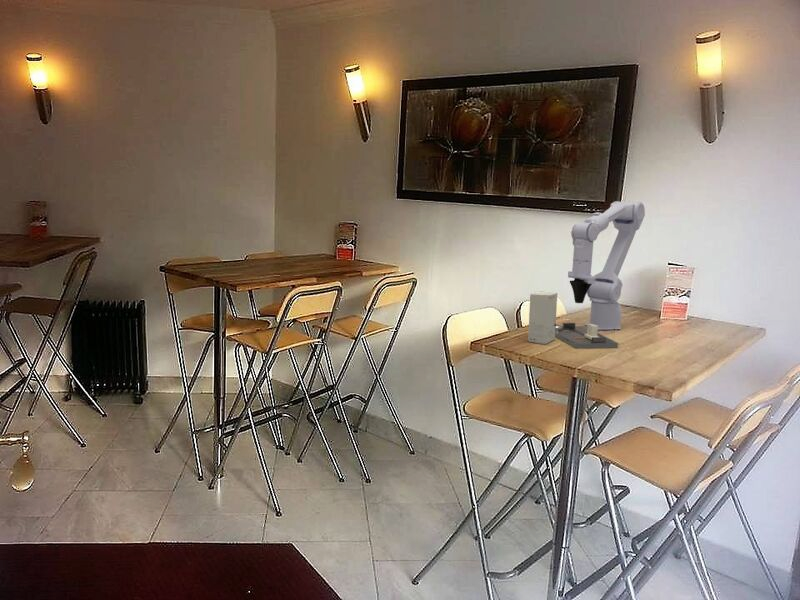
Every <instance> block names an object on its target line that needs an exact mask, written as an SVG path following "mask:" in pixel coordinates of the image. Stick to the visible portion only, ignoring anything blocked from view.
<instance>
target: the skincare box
mask: <svg viewBox="0 0 800 600" xmlns="http://www.w3.org/2000/svg"><path fill="white" fill-rule="evenodd" d="M557 302H558V292H555V291H554V292H553V291H535V292H533V293H530V295H529V312H528V330H527V331H528V334H527V336H528V337H527V342H530V343H535V344H541V345H547V344H549V343H551V342H552V341H555V339H556V337H555V329H556V325H557V309H558V308H557V306H558V305H557V304H558V303H557Z"/></svg>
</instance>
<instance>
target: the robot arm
mask: <svg viewBox="0 0 800 600" xmlns="http://www.w3.org/2000/svg"><path fill="white" fill-rule="evenodd" d="M645 211H646V208H645V205H644V203H643V202H641V201H636V202H635V201H617V200H615V201H613V202H612V203H610V207H608V209H606V210H605V211H604V212H594V213H593V215H592V216H590V217H588V218H586V219H585V220H584V221H583V222H582V221H579V222H576V223H575V224H574V225H573V226H572V228H571V231H570V235H571V238H572V239H571V240H572V246H573V253H572V254H573V257H572V270H571V271H570V270H569V271H568V273H567V278H572V279H573V280H569V284H570V285H571V289H572V291H573V299H574V303H575V304H583V303H584V301H585V298H586V295H587V298H588V299H589V302H591V304H590V306H591V307H590V314H589V316H590V317H589V323H588V322H587V323H584V326H585V327H587V325H588V324H595V325H597V326H598V331H600V330H601V331H605V330H606V331H607V330H608V331H610V330H611V331H612V330H613V331H615V330H616V331H617V329H619V330H622V327H621V323H622V313H623V312H622V305H621V303H620V302H618V300H619V299H620V298H621V295H622V289H623V281H622V280H621V279H620V277H618V276H619V275H620V272H621V270H622V267H623V264H624V262H625V260H626V257H627V255H628V253H629V250H630V247H631V245H632V243H633V240H634V238H635V236H636V232H637V231H639V229H640V228H641V226H642V223H643V221H644V219H645V215H646V212H645ZM611 222H612V224H613V227H614V228H615V229H616V230H618V232H617V235H616V238H615V240H614V242H613V244H612V247H611V250H610V252H609V253H608V255H607V256H608V257H607V259H606V262H605V265H604V266H603V268H602V271H600V272H598V273H596V274H594V275H592V264H593V254H594V253H593V252H594V242H595V241H596V240H597V238H598V236H599V235H600V233H602V232H603V231H605V230H606V229H608V227H609V224H610V223H611ZM614 329H615V330H614Z"/></svg>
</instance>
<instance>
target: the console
mask: <svg viewBox="0 0 800 600" xmlns="http://www.w3.org/2000/svg"><path fill="white" fill-rule="evenodd" d="M576 324H577V323H576V322H562V325H558V324H556V329H555V339H556V338H557V339H558V340H560V341H562V342H563V341H564V342H563V343H565V342H566V343H565V344H567V345H569V346H570V345H571V347H572V346H573V347H572V348H574V349H576V348H577V349H578V348H587V349H618V348H619V342H618V341H615V340H613V339H611V338H609V337H606V336H605V335H603V334H600V333H598V332H597V336H598V337H592V340H590V339H588V338H586V337H584V334H587V326H583V325H582V326H580V325H578V326H576Z"/></svg>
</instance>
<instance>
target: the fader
mask: <svg viewBox="0 0 800 600" xmlns="http://www.w3.org/2000/svg"><path fill="white" fill-rule="evenodd" d="M587 324H588V323H587ZM586 328H587V334H584V337H586V338H588V339H590V340H592V337H598V336H597V333H598V331H599V330H598V326H597V325H595V324H588V325H587V326H586Z"/></svg>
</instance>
